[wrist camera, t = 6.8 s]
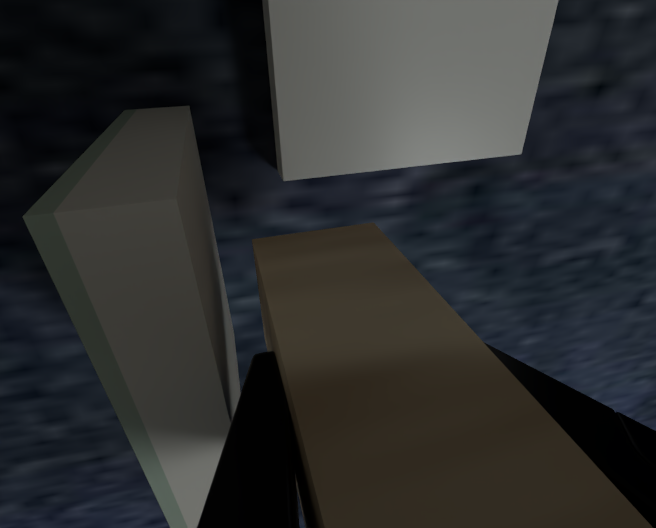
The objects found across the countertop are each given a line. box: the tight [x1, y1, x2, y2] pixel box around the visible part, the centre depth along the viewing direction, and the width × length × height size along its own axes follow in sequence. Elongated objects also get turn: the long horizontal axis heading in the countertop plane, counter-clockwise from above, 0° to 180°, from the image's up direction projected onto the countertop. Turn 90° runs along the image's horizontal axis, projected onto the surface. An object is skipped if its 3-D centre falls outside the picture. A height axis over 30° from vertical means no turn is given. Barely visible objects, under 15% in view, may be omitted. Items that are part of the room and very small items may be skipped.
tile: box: [22, 106, 241, 528], centre depth 9 cm, size 8×2×7 cm, turn 1°
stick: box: [252, 223, 653, 528], centre depth 6 cm, size 3×3×9 cm
